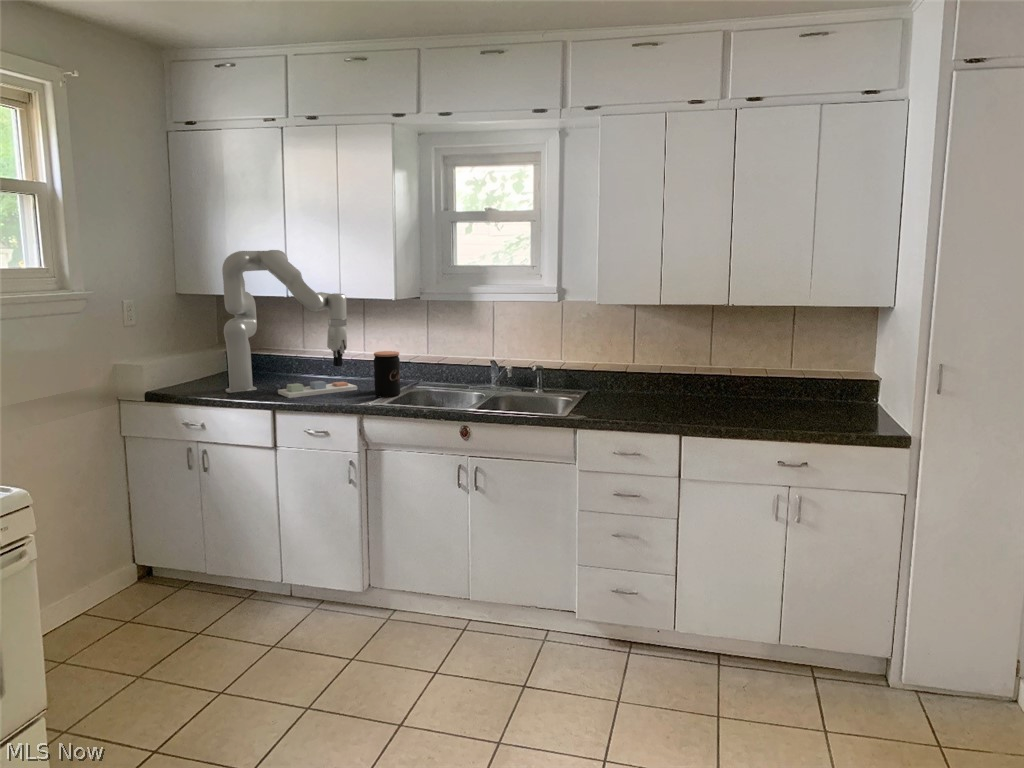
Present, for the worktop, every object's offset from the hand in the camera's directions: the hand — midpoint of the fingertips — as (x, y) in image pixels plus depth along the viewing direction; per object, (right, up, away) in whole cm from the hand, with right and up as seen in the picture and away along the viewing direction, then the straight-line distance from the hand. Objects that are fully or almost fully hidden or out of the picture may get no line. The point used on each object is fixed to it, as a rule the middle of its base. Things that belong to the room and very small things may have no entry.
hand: (337, 365), depth 323 cm
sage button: (-15, -12, -10) cm, 22 cm away
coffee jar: (+22, -13, -4) cm, 26 cm away
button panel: (-7, -12, -4) cm, 15 cm away
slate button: (-7, -11, -4) cm, 14 cm away
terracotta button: (+1, -11, +2) cm, 11 cm away
